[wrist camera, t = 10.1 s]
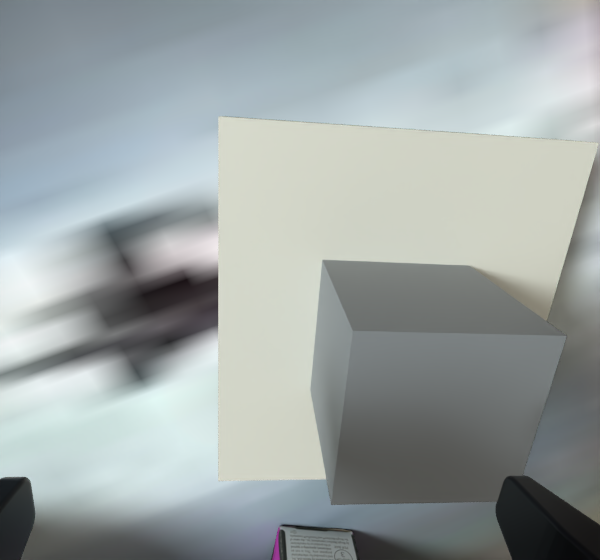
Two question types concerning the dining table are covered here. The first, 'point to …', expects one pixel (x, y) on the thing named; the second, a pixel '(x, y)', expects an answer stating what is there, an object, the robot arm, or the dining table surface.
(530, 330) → the grey cube
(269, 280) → the base block
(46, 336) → the dining table surface
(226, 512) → the dining table surface
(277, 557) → the candy bar box
